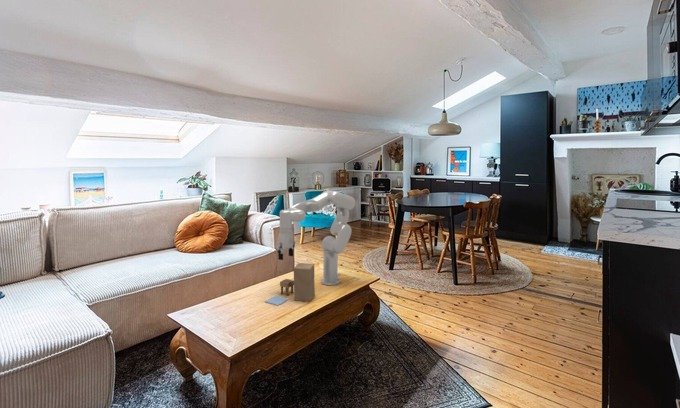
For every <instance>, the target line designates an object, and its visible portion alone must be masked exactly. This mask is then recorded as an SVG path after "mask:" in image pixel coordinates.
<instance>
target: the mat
mask: <svg viewBox="0 0 680 408" xmlns="http://www.w3.org/2000/svg"><path fill="white" fill-rule="evenodd" d="M289 300H290V299H289V298H288V297H283V296H280V295H273V296H272V297H270V298H268V299H266V300H264V303H266V304H270V305H273V306H277V307H278V306H280V305H283V304H284V303H286V302H287V301H289Z"/></svg>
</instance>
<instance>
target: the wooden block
mask: <svg viewBox="0 0 680 408" xmlns="http://www.w3.org/2000/svg"><path fill="white" fill-rule="evenodd" d="M293 280H294V285H293V300H294V301H297V302H298V301H301V302H311V301H312V299H313V298H314V296H315V264H314V263H306V262H305V263H304V262H299V263H297V264H296V265H295V266H294V267H293Z"/></svg>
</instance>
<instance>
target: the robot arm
mask: <svg viewBox="0 0 680 408" xmlns="http://www.w3.org/2000/svg"><path fill="white" fill-rule="evenodd" d="M329 205H334V206H336V207H335V208H336V216H335V218H334V220H333V222H332V223H331V227H330V229H329V230H330V234H332V236H331V235H328V236H327V235H326V236H325V237H324V238H323V239H322V242H321V247H322V252H323V253H322V254H323V256H322V257H323V261H322V263H323V270H322V271H323V278H322V279H321V281H320V282H321V284H323V285H324V286H337V285H339V284H340V283H341V280H340V279H339V277H340V276H341V274H340V272H339V273H338V270H339V268H338V262H339V261H338V260H339V258H338V254H342V253H343V252H345V249H346V248H347V245H348V242H349V240H350V239H351V235H352V227H351V226H350V225H349V224H348V221H349V218H350V212H349V210H352V209H354V208H355V206H356V200H355V198H354V197H353V196H351V195H347V194H344V193H342V192H339V191H337V190H326V191H324V192H322V193H320V194H319V195H317V196H315V197H313V198H311V199H307V200H304V201H301V202H298V203H296V204H294V205H292V206H290V207H289V208H288V209H281V210H280V211H279V233H278V237H277V245H276V246H275V250H276V252H277V254H278V255H277V256H278V257H277V259H278V260H280V261H284V251H285V250H288V257H294V251H295V250H294V249H295V247H296V246H295V245H296V241H295V240H294V233H293V222H295V223H296V222H297V223H298V222H299V223H300V222H303V221H305V219H306V217H307V215H306V214H307V213H311V212H312V213H313V212H317V211H320V210H322V209H324V208H325V207H327V206H329ZM333 235H334V236H335V237H334V236H333Z"/></svg>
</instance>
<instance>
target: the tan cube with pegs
mask: <svg viewBox="0 0 680 408" xmlns="http://www.w3.org/2000/svg"><path fill="white" fill-rule="evenodd" d="M279 287H280V294H281V295H284V289H285V293H286V296H287V297H289V296H290V294H294V279H289V278H284V279H282V280H281V281H280V282H279ZM289 288H290V289H289Z"/></svg>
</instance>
